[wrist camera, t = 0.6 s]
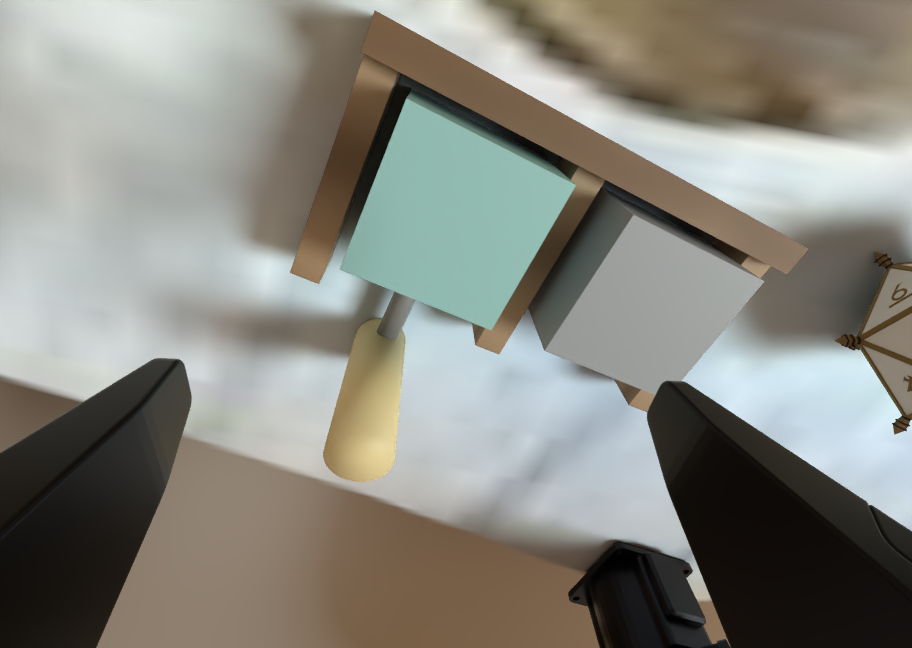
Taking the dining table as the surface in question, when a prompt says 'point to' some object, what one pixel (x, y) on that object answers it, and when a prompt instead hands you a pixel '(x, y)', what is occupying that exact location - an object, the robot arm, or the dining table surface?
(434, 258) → the teal cube mallet
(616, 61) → the dining table surface
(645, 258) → the slate block
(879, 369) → the grey spiky lump
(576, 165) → the shelf
